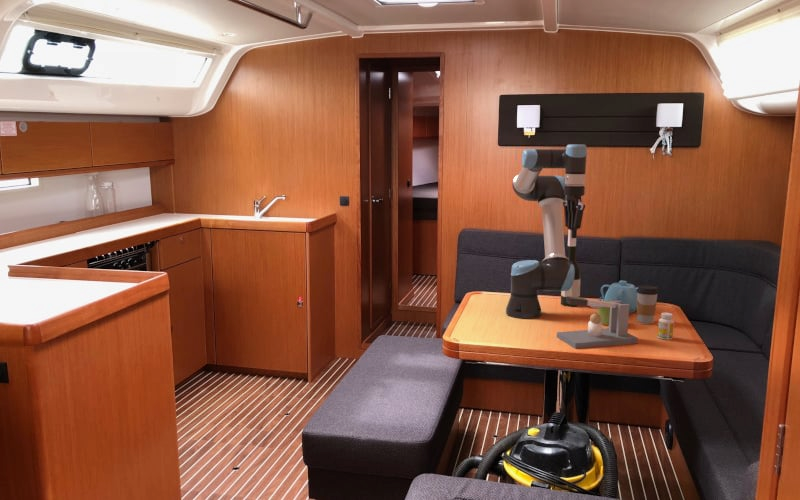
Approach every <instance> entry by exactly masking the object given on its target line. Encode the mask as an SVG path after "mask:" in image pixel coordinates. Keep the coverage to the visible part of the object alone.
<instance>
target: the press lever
mask: <svg viewBox="0 0 800 500" xmlns="http://www.w3.org/2000/svg"><path fill="white" fill-rule="evenodd" d="M565 303H568V304H570V305H578V306H577V307H579V306H581V307H588V306H590V307H591V308H593V309H595V310H598V309H602V307H611V308H618V304H621V303H619V302H608V301H603V300H602V301H599V299H597V300H596V299H595V300H594V299H588V298H587V299H586V298H584V297H581V296H580V297H570V296H566V301H565Z"/></svg>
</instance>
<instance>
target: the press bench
mask: <svg viewBox="0 0 800 500" xmlns="http://www.w3.org/2000/svg"><path fill="white" fill-rule="evenodd" d="M611 302H619V303H622V301H611ZM629 315H630V314H629V304H618V308H611V307H610V320H609V325H608V327H607V328H603V325H602V322H600V321H601V317H600V315H599V314H598V313H597V312H596V313H592V314H591V315H590V317H589V321H588V323H587V329H581V330H571V331H558V332H556V338H557V339H559V340H561V341H563V342H564V343H566V344H567V345H569V346H570V347H572V348H574V349H586V348H587V349H588V348H598V347H606V346H608V347H610V346H619V345H621V346H622V345H632V344H639V338H638V337H637V336H635V335H633V334H631V333H629V332H628V331H629Z"/></svg>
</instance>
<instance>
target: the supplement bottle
mask: <svg viewBox="0 0 800 500" xmlns="http://www.w3.org/2000/svg"><path fill="white" fill-rule="evenodd" d="M673 315H674V314H672V313H670V312H661V315H660V316H661V318H659V319H658V326H657V338H658V339H660V340H665V341H670V340H672V339H673V337H674V336H673V335H674V327H675V326H674V325H675V321H674V319H673V317H674V316H673Z"/></svg>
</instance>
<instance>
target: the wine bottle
mask: <svg viewBox="0 0 800 500" xmlns="http://www.w3.org/2000/svg"><path fill="white" fill-rule="evenodd" d="M577 245H578V242H577V241H576V246H568V255H567V256H568V257H567V258H568V259H569V263H570V264H573V265H574V268H575V274H574V281H573V285H572V287H571V289H570V290H568V291H560V292H561V293H560V305H561V306H563V307H569V308H572V307H579V306H578V305H570V304H568V303H565V301H566V296H570V297H580V298H581V279H582V278H581V277H582V268H581V267H580V265H579V263H578V262H577Z"/></svg>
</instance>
